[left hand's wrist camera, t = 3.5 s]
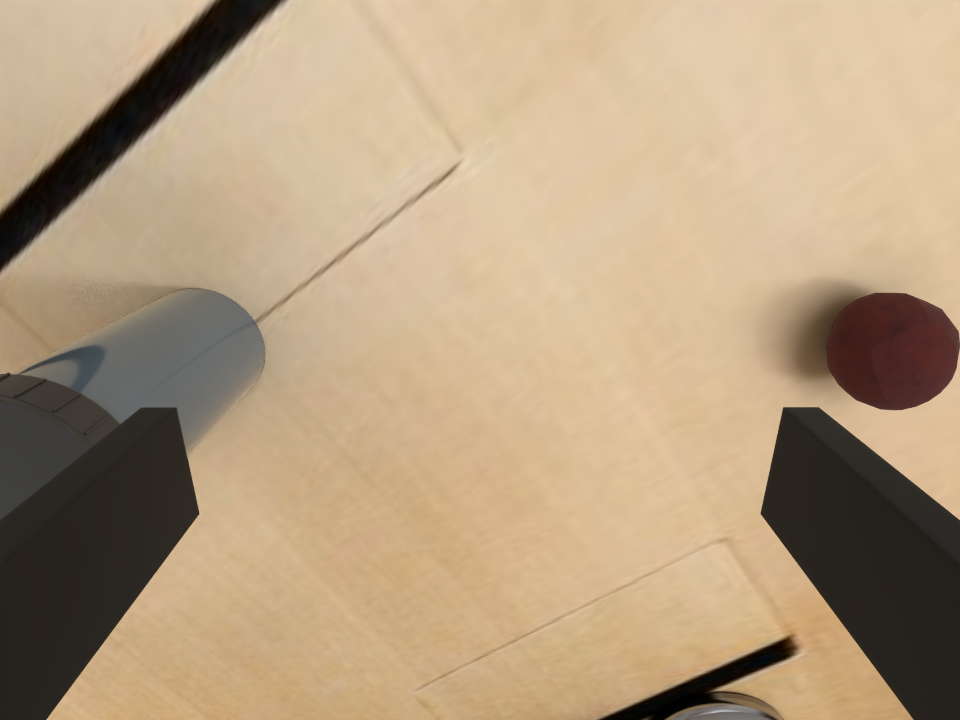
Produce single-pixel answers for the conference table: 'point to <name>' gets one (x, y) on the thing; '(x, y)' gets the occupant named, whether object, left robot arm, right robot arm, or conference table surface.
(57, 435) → the lid
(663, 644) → the conference table surface
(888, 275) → the conference table surface
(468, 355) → the conference table surface
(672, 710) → the right robot arm
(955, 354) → the dark red round ball
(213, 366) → the jar
